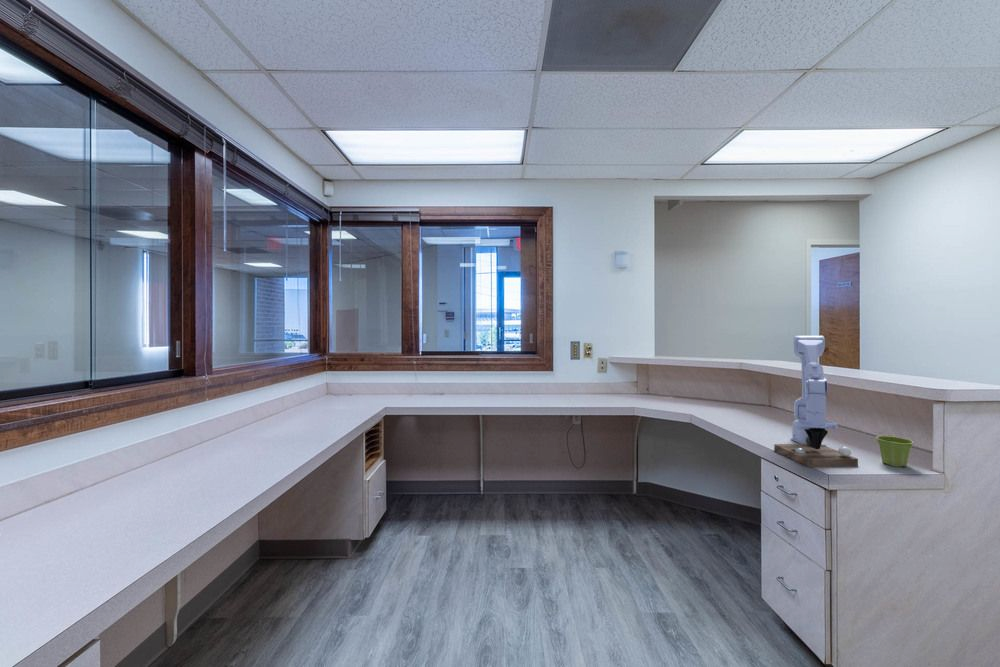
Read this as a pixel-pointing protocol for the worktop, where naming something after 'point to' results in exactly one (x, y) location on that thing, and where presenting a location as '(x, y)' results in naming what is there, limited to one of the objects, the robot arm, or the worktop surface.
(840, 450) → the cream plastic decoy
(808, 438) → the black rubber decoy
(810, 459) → the board
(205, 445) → the worktop surface
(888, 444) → the plant pot
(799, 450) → the steel ball
